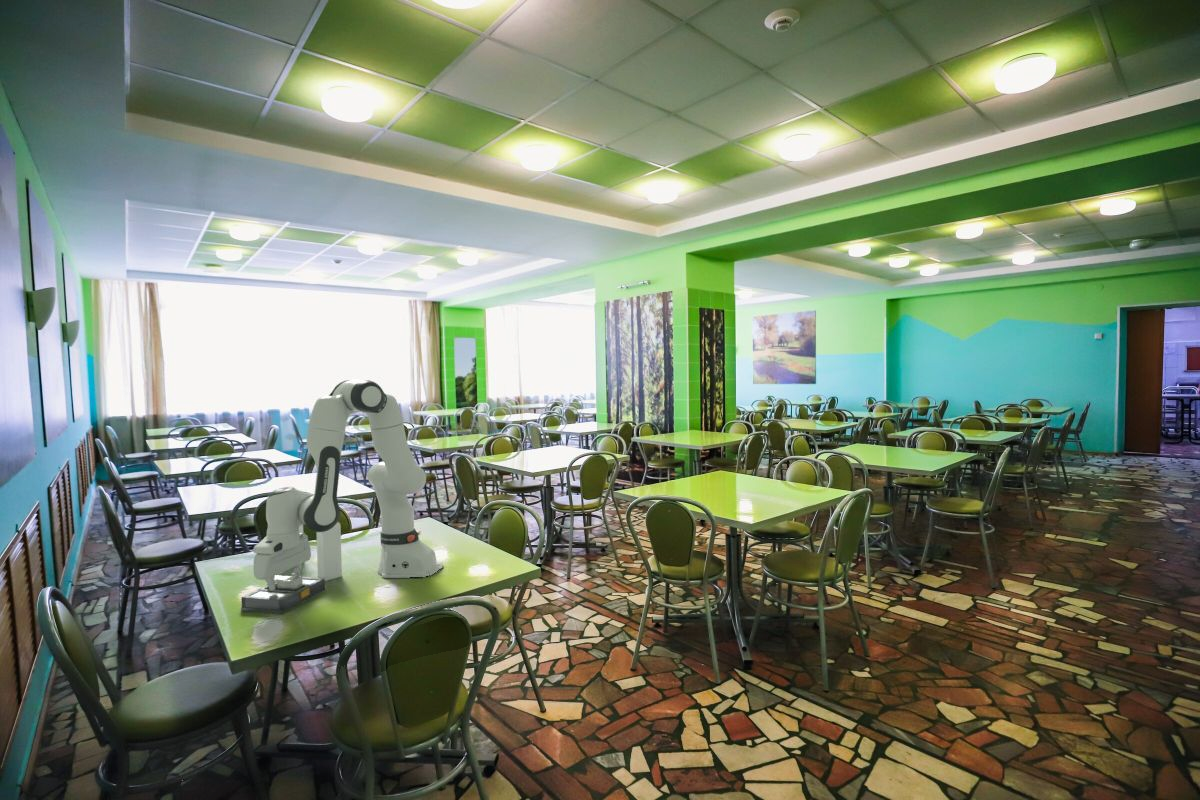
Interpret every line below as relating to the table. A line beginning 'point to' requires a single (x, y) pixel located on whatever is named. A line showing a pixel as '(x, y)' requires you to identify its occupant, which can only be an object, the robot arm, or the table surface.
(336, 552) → the milk
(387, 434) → the robot arm
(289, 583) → the white rectangular block
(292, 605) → the tray
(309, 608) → the table surface
